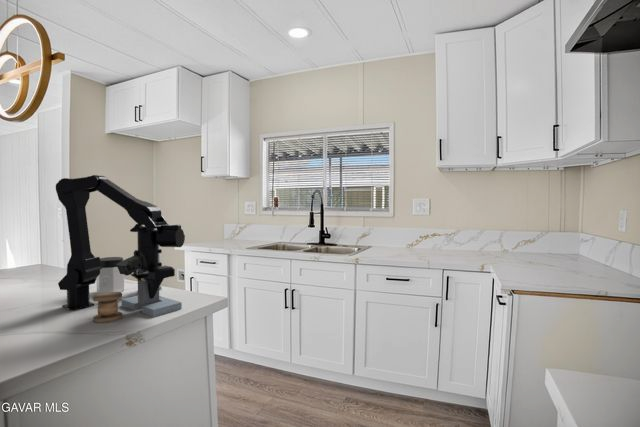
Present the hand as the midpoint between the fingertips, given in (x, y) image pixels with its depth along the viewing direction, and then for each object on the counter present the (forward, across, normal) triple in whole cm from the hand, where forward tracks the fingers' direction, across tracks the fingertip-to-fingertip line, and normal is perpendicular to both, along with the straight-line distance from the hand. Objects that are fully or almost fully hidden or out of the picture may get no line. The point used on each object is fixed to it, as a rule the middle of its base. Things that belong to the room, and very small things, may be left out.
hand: (148, 297), depth 105 cm
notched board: (+4, -1, +1) cm, 4 cm away
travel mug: (+4, -20, +13) cm, 24 cm away
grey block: (+2, 0, 0) cm, 2 cm away
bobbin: (+4, -1, -11) cm, 12 cm away
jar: (+4, -30, +3) cm, 30 cm away
